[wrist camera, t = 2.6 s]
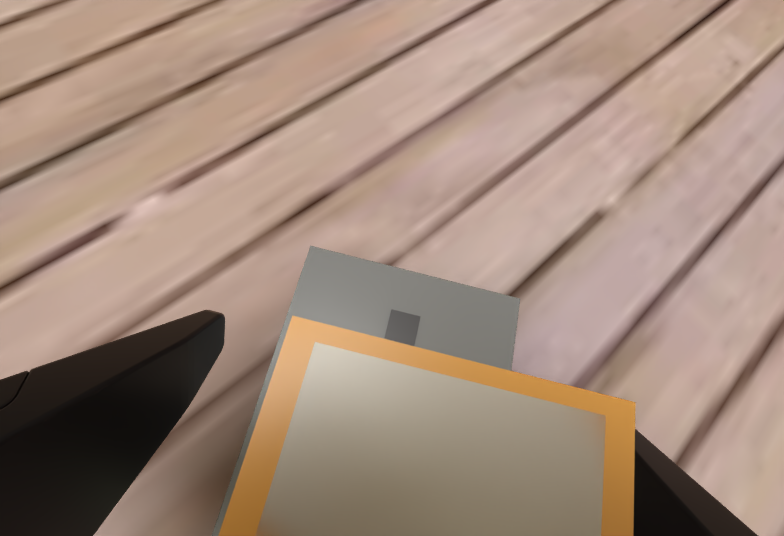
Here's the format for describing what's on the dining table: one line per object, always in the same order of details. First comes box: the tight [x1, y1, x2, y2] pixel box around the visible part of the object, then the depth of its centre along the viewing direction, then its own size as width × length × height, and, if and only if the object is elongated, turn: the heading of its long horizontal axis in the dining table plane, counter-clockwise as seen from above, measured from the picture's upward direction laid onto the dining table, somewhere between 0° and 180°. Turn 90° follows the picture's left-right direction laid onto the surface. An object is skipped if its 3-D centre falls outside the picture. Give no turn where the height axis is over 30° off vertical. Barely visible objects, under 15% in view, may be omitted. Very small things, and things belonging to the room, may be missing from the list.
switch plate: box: [212, 246, 520, 536], centre depth 15 cm, size 12×9×2 cm
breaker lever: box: [218, 315, 635, 536], centre depth 8 cm, size 2×4×11 cm, turn 76°
